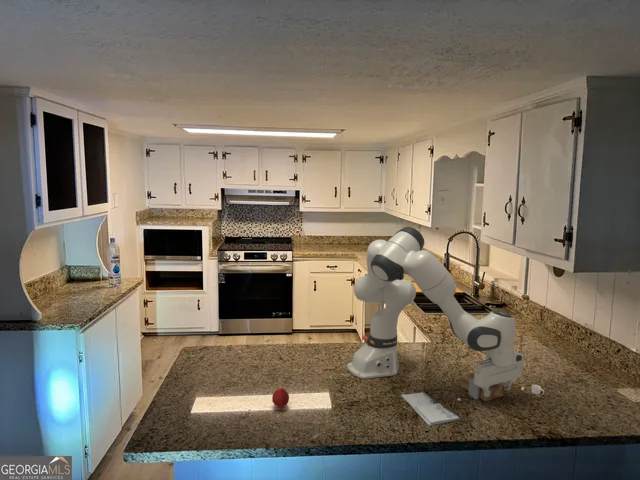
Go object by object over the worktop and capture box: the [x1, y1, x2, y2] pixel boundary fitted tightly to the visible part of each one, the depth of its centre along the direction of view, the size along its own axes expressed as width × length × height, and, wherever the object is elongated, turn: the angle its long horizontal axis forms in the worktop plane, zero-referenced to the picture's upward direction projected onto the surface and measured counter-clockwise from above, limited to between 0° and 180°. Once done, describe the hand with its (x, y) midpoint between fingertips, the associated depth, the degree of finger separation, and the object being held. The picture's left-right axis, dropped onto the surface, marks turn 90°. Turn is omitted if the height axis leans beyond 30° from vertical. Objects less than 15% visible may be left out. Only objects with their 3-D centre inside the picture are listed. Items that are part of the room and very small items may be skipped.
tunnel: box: [468, 379, 504, 400], centre depth 152 cm, size 12×4×6 cm, turn 115°
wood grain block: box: [460, 372, 505, 402], centre depth 153 cm, size 9×12×4 cm
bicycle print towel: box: [401, 391, 463, 426], centre depth 146 cm, size 19×20×2 cm
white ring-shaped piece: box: [521, 384, 545, 396], centre depth 153 cm, size 9×8×4 cm
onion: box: [271, 386, 290, 410], centre depth 144 cm, size 6×6×8 cm
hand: (496, 393), depth 147 cm, fingers open, 8 cm apart
